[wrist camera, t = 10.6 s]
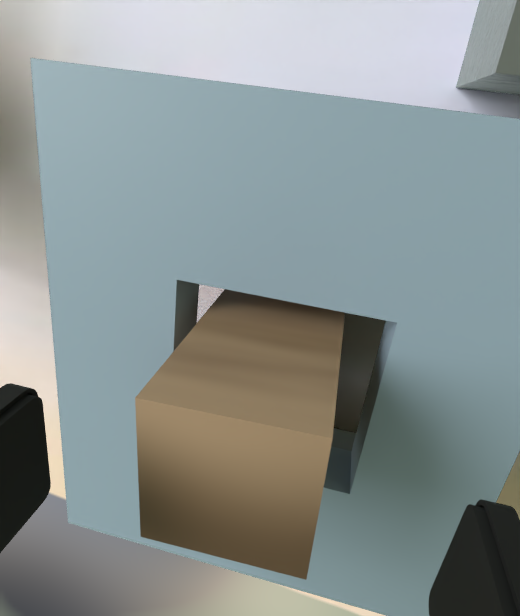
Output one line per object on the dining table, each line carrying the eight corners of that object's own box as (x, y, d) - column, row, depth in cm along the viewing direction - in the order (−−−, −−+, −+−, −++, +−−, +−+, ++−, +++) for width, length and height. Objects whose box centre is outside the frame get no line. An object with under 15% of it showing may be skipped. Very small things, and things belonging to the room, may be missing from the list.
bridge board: (153, 81, 17) (30, 58, 11) (538, 130, 15) (665, 137, 9) (147, 415, 24) (68, 522, 17) (415, 481, 22) (436, 630, 15)
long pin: (255, 253, 19) (135, 397, 9) (349, 266, 18) (332, 438, 8) (248, 336, 20) (140, 536, 11) (334, 351, 20) (306, 579, 10)
